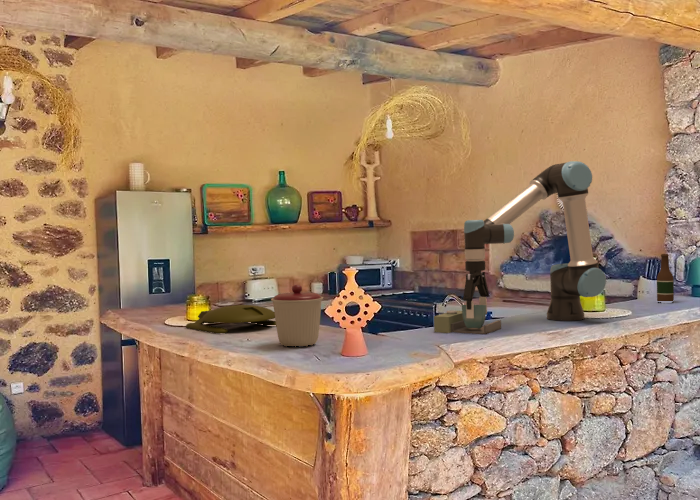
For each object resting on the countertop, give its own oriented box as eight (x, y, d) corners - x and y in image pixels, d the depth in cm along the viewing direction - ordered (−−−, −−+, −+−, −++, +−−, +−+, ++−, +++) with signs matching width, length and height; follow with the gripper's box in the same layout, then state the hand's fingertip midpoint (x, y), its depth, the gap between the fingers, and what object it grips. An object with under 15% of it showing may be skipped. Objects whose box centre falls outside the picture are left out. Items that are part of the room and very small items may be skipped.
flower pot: (485, 328, 260) (485, 304, 261) (461, 328, 262) (461, 304, 263) (486, 328, 268) (486, 305, 269) (463, 328, 271) (463, 305, 272)
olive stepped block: (469, 326, 280) (468, 308, 279) (448, 333, 263) (448, 314, 262) (455, 325, 283) (454, 308, 283) (434, 332, 266) (433, 313, 265)
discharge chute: (501, 328, 271) (501, 320, 270) (486, 334, 257) (486, 325, 257) (467, 326, 278) (467, 318, 278) (451, 332, 264) (450, 323, 264)
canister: (293, 339, 256) (292, 282, 256) (334, 343, 246) (333, 283, 246) (261, 347, 241) (259, 286, 240) (303, 351, 231) (301, 287, 230)
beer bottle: (671, 301, 346) (670, 253, 345) (676, 303, 338) (675, 254, 338) (654, 302, 347) (654, 253, 346) (659, 303, 340) (658, 254, 339)
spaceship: (183, 329, 295) (182, 305, 295) (245, 321, 316) (244, 299, 316) (227, 337, 269) (226, 311, 269) (291, 328, 290) (291, 304, 289)
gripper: (477, 258, 279) (479, 311, 280) (452, 262, 258) (454, 319, 259) (495, 258, 275) (497, 312, 276) (472, 262, 254) (474, 320, 255)
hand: (476, 315), depth 267 cm, fingers open, 13 cm apart
